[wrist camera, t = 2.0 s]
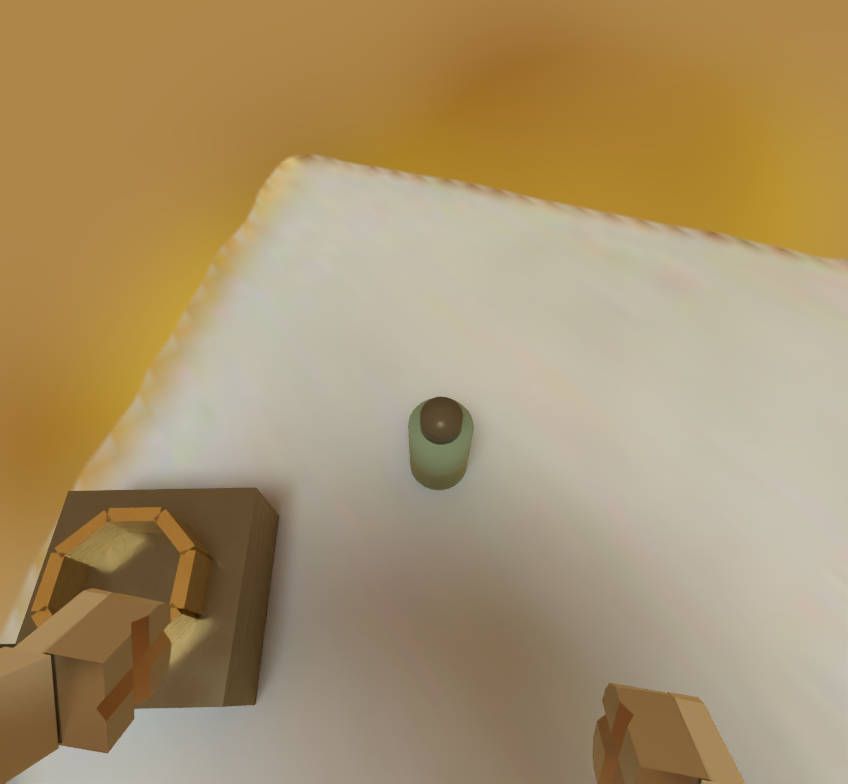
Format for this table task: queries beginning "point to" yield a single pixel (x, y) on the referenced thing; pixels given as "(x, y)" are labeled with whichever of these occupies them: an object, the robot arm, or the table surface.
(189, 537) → the octagon ring base
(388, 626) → the table surface
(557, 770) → the table surface
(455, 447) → the bottle
